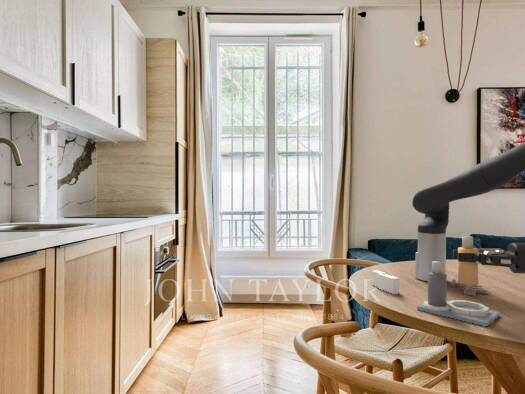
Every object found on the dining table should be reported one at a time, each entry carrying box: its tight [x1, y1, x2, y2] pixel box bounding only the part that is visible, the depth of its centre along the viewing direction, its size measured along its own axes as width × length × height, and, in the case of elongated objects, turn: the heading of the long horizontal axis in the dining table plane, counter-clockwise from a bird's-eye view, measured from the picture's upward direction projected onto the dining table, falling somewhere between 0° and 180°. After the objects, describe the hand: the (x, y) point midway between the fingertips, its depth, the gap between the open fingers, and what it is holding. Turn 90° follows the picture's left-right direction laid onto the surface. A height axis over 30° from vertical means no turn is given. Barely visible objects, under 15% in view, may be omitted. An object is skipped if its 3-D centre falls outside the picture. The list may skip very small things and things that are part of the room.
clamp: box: [450, 278, 488, 297], centre depth 110 cm, size 15×2×10 cm
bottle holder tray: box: [416, 261, 501, 327], centre depth 87 cm, size 16×11×13 cm
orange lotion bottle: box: [457, 235, 479, 286], centre depth 87 cm, size 4×4×12 cm
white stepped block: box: [371, 269, 400, 295], centre depth 111 cm, size 15×11×6 cm
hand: (456, 255), depth 87 cm, fingers closed on orange lotion bottle, 4 cm apart
